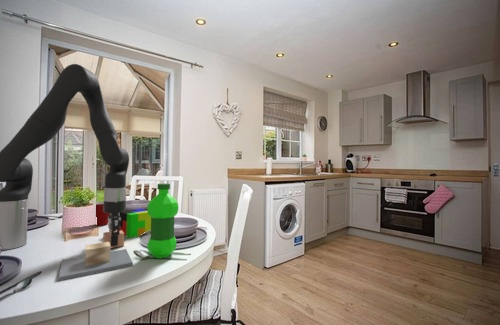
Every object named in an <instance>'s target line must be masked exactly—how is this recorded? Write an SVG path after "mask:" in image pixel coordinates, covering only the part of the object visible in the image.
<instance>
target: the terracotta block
mask: <svg viewBox="0 0 500 325" xmlns="http://www.w3.org/2000/svg"><path fill="white" fill-rule="evenodd" d="M113 232H117V231H113ZM102 237H103V238H102V243H104V242H109V243H110V246H111V232H109V231H107V232H103V235H102ZM124 246H125V236H124V232H123V231H122V230H120V234H119V235H118V245H117V246H111V247H110V249H113V248H119V247H124Z"/></svg>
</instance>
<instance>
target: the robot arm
mask: <svg viewBox="0 0 500 325" xmlns="http://www.w3.org/2000/svg"><path fill="white" fill-rule="evenodd" d="M78 93H79V94H81V96H82V98H84V100H85V102H86V105H87V107H88V110H89V111H88V112H89V122H90V125H91V128H92V131H93V134H94V135H95V138H96V140H97V142H98V147H99V151H100V155H101V158H102V160H103V161H104V163H106V164H107V165H109V169H108V170H109V171H108V172H107V173H106V174H105V176H104V192H103V201H104V203H103V212H105V213H110V214H109V216H108V221H109V222H108V224H107V226H108V232H111V246H117V245H118V235H119V234H120V222H121V217H120V215H119V213H120V212H124V211H127V209H126V206H127V188H126V187H127V186H126V185H127V184H126V183H127V182H126V181H127V173H128V169H129V165H130V156H129V152H128V151H127V150H126V149H124V148H123V147H120V145H119V142H118V139H119V137H118V133H117V130H116V129H115V126H114V124H113V123H114V122H112V120H111V116H110V114H109V112H108V109H107V106H106V104H105V100H104V95H103V93H102V88H101V84H100V80H99V79H98V77H97V75H96V73H94V72H92V71H90V70H89V69H87V68H86V67H84V66H82V65H81V64H77V63H72V64H68V65H67V66H65V67H64V68H63V70H62V71H61V73H60V74H59V76H58V78H56V80H55V82H54V84H53V86H52V87H51V89H50V90H49V92H48V93H47V95H46V96H45V97H44V99H43V100H42V101H41V103H40V104H39V105H38V106H37V108H36V109H35V110H34V111H33V112H32V113H31V115H30V116H29V117H28V119H27V120H26V121H25V123H24V125H23V126H21V128H20V129H19V130H18V132H17V133H16V134H15V135H14V136H13V137H12V139H11V140H10V141H9V142H8V143H7V144H6V145H5V146H4V148H2V149H0V150H1V151H0V183H5V185H4V186H3V187H2V189H0V247H1V248H2V249H1V250H0V251H5V250H12V249H17V248H20V247H23V246H25V245H27V239H28V238H27V237H28V212H29V211H28V210H29V209H28V208H29V207H28V206H29V196H30V193H31V191H32V185H33V174H34V171H33V170H34V169H33V164H32V162H31V161H30V160H29V159H27V158H26V157H28V155H30V153H32V152H34V151H35V150H36V149H38V148H40V147H42V146H43V145H45V144H47V143H48V142H50V141H51V140H52V139H53V138H55V136H56V135H57V134H58V132H60V130H61V129H62V128H63V126H64V124H65V122H66V117H67V112H68V111H67V110H68V107H69V105H70V102H71V101H72V100H73V99H74V97H75V96H76V95H77V94H78ZM113 231H117V232H113Z"/></svg>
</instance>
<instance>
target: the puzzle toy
mask: <svg viewBox="0 0 500 325" xmlns="http://www.w3.org/2000/svg"><path fill="white" fill-rule="evenodd" d="M119 215H120V217H121V222H120V230H122V231H123V232H124V237H126V236H127V238H130V239H132V238H131V237H133V238H136V237H135V236H137V237H140V235H141V234H143V233H144V232H147V231H149V230H151V217H150V216H149V215H148V211H147V210H146V209H143V208H137V209H129V210H125V211H124V212H120V213H119ZM141 236H142V235H141Z"/></svg>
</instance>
